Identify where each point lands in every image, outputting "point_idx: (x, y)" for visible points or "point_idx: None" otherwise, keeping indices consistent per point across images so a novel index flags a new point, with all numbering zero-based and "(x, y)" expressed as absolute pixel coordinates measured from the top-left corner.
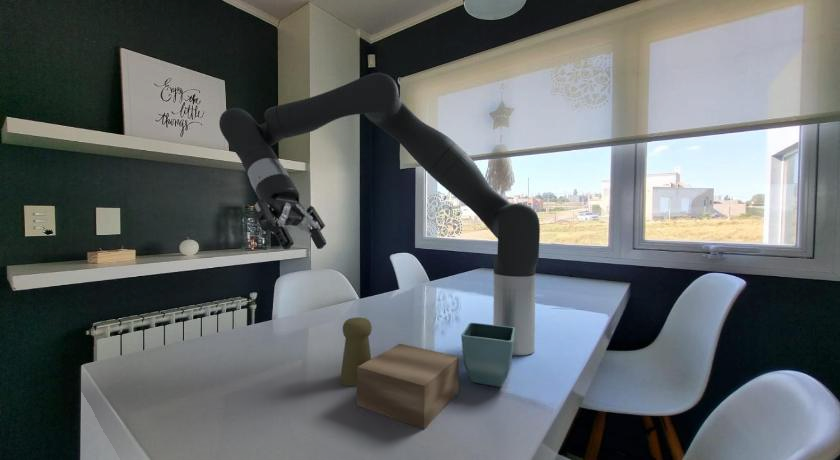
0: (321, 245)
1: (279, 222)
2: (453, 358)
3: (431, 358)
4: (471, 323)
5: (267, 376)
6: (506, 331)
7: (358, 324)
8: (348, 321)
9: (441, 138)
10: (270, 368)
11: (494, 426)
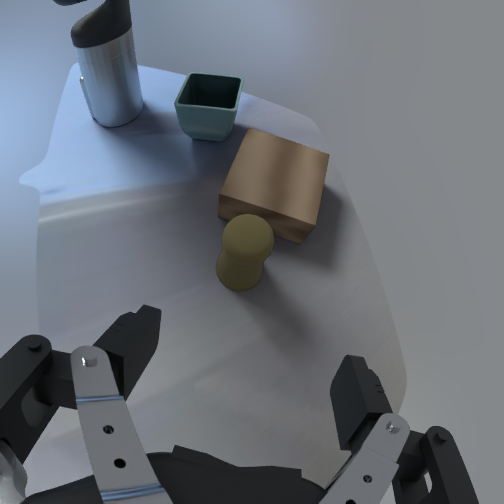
0: (159, 325)
1: (402, 433)
2: (256, 132)
3: (263, 151)
4: (178, 103)
5: (264, 398)
6: (189, 81)
7: (268, 225)
8: (263, 245)
9: None
10: (238, 412)
11: (293, 132)
